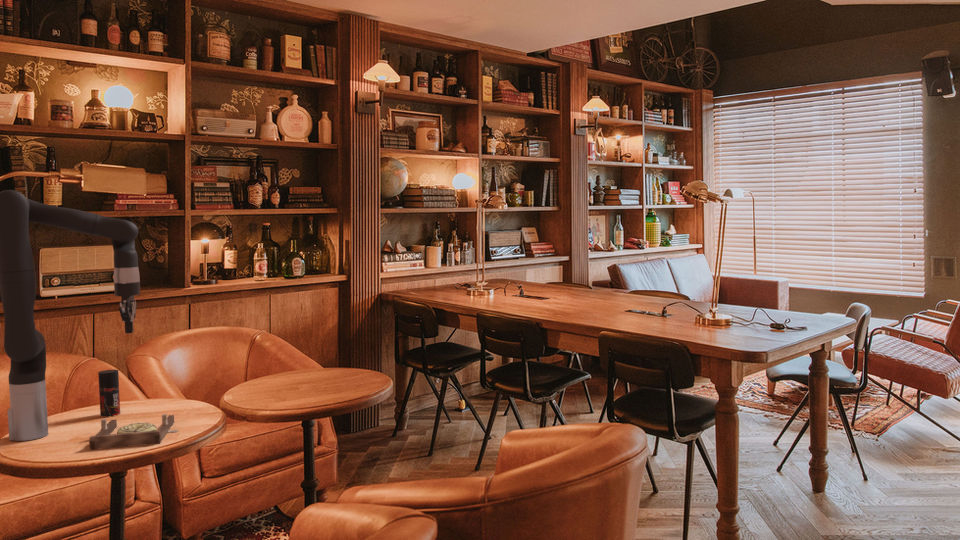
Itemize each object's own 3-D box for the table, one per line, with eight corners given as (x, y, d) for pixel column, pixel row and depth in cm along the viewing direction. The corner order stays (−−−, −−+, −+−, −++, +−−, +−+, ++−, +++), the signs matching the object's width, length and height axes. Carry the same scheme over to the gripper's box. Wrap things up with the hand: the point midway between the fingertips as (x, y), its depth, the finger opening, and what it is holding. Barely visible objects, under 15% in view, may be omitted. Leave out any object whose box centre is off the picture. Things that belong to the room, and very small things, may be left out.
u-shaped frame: (78, 450, 188) (77, 431, 188) (101, 428, 210) (100, 411, 209) (171, 442, 195) (170, 424, 194) (184, 421, 216) (183, 405, 216)
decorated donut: (132, 445, 193) (132, 433, 193) (109, 440, 198) (109, 428, 198) (164, 435, 202) (163, 423, 202) (141, 430, 207) (141, 418, 207)
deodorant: (107, 412, 229) (105, 369, 228) (123, 412, 228) (121, 369, 227) (96, 417, 223) (94, 373, 222) (113, 417, 222) (111, 373, 222)
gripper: (119, 280, 223) (122, 330, 224) (108, 283, 210) (111, 336, 211) (144, 279, 225) (146, 329, 226) (134, 282, 212) (136, 335, 213)
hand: (129, 332), depth 218 cm, fingers closed
